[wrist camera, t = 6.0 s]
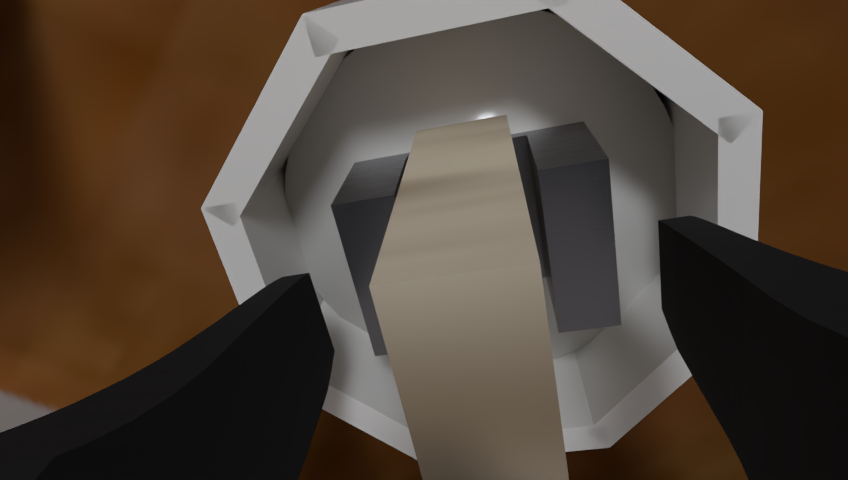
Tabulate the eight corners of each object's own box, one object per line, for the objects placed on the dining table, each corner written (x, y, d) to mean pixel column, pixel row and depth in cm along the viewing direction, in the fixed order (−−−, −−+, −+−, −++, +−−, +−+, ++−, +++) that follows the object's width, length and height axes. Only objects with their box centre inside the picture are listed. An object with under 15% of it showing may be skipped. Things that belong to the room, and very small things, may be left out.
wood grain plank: (531, 292, 16) (576, 535, 9) (452, 303, 16) (441, 544, 10) (506, 114, 14) (540, 262, 7) (416, 130, 14) (368, 286, 8)
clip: (596, 264, 16) (621, 324, 13) (390, 294, 17) (375, 356, 14) (583, 121, 14) (608, 158, 12) (354, 162, 15) (330, 205, 12)
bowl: (699, 347, 18) (750, 434, 15) (334, 390, 19) (307, 476, 16) (695, -79, 13) (770, -91, 10) (211, 29, 15) (138, 50, 11)
